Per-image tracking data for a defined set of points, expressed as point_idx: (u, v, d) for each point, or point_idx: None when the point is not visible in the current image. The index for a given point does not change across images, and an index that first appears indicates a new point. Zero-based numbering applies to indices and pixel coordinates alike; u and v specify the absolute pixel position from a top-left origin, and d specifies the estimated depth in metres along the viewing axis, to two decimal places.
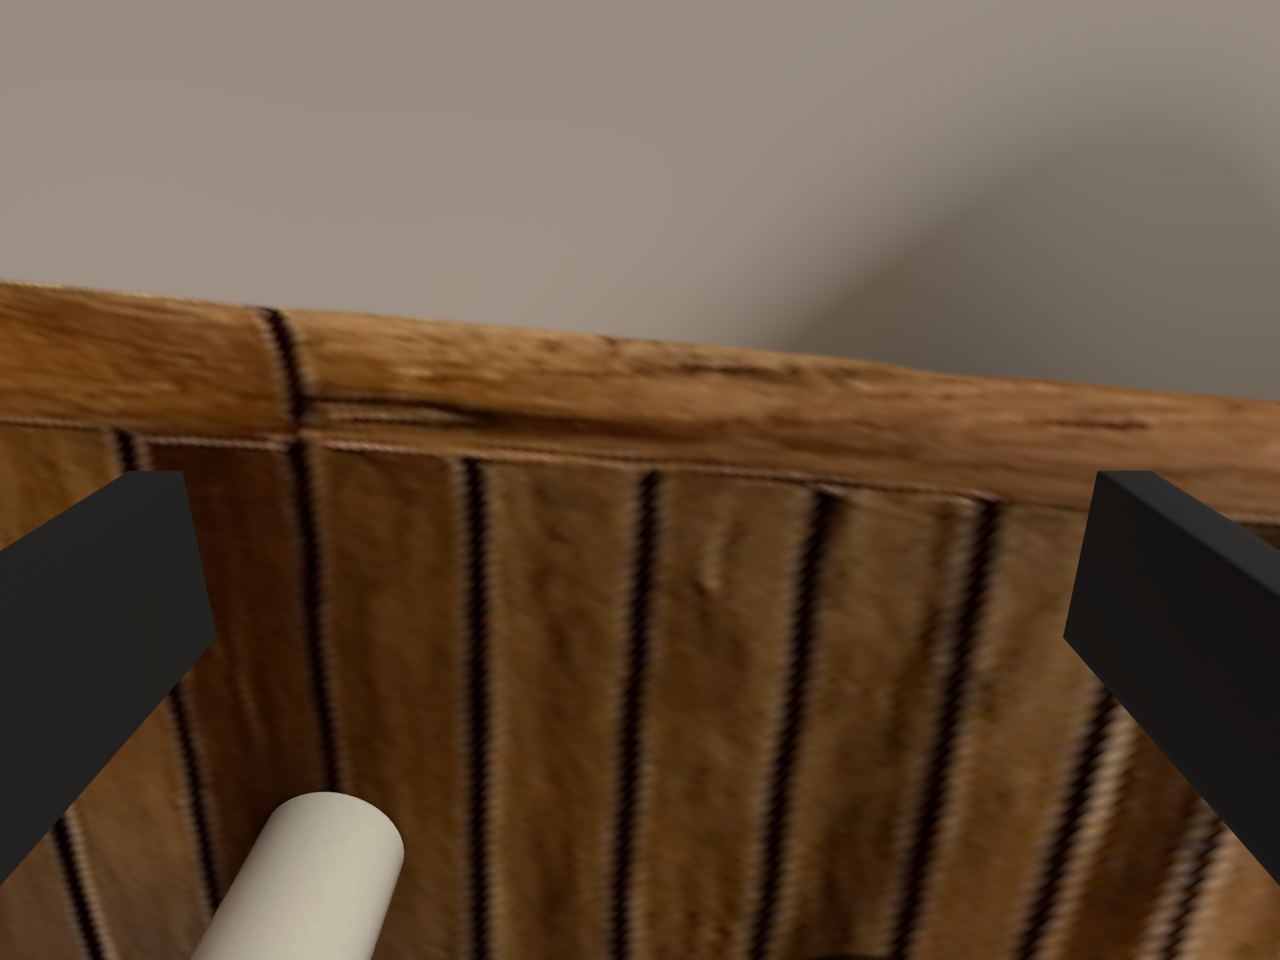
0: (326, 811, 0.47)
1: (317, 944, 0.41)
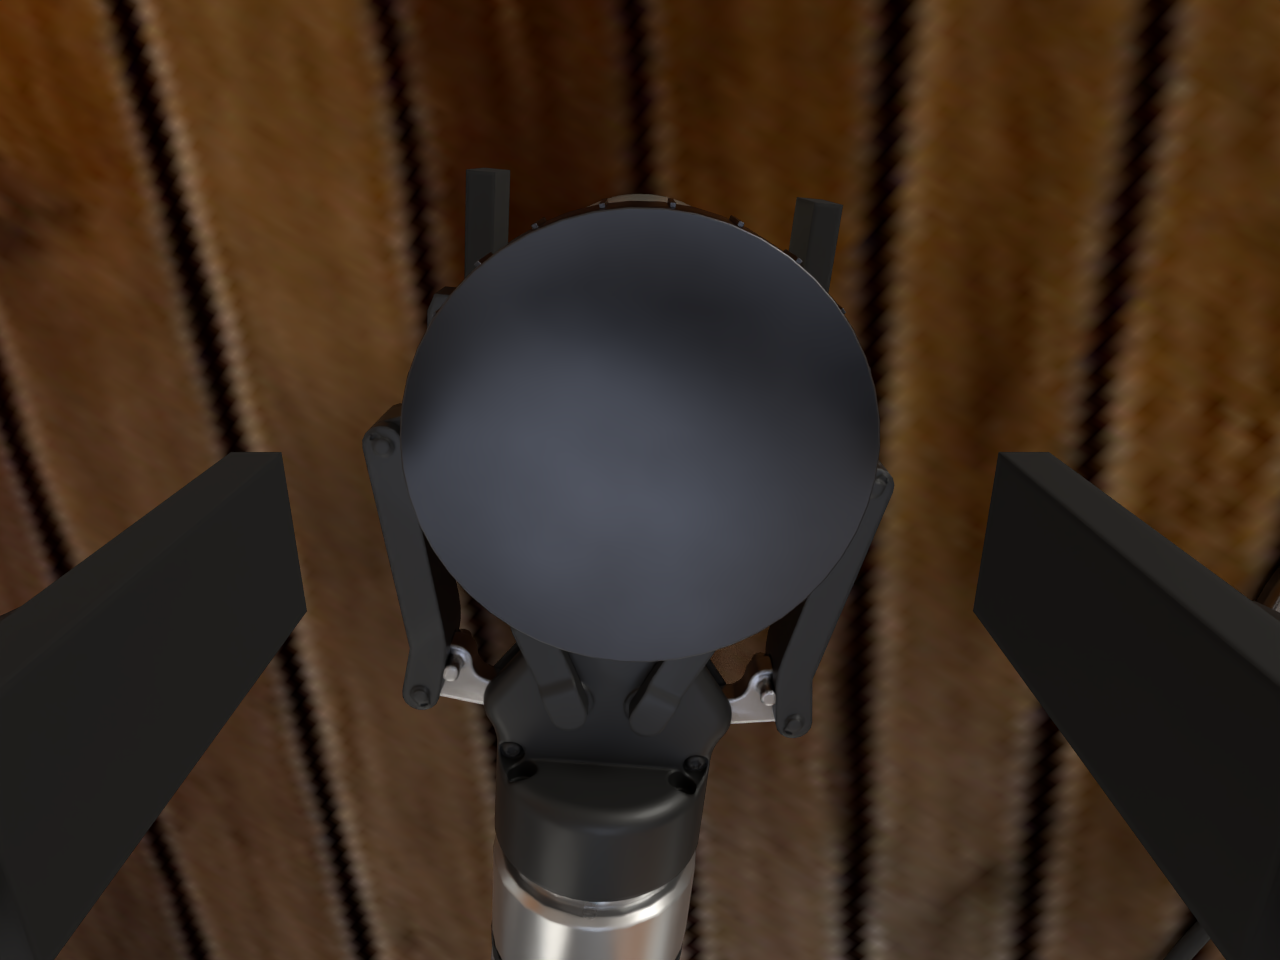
0: (647, 196, 0.28)
1: None
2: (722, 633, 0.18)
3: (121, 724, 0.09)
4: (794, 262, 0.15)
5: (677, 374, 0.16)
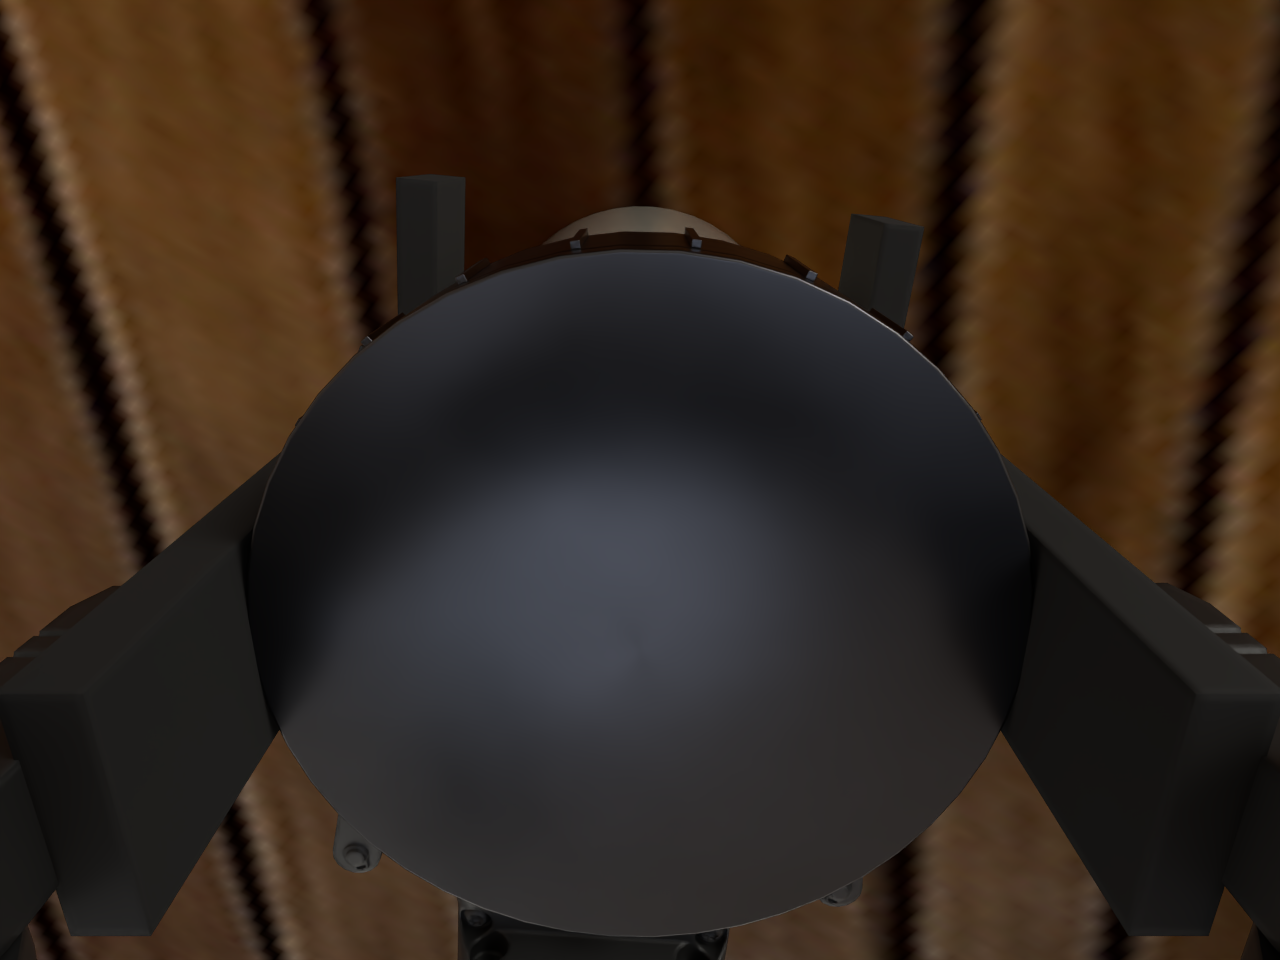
0: (650, 209, 0.22)
1: None
2: (768, 899, 0.12)
3: (213, 699, 0.09)
4: (905, 342, 0.09)
5: (702, 522, 0.10)
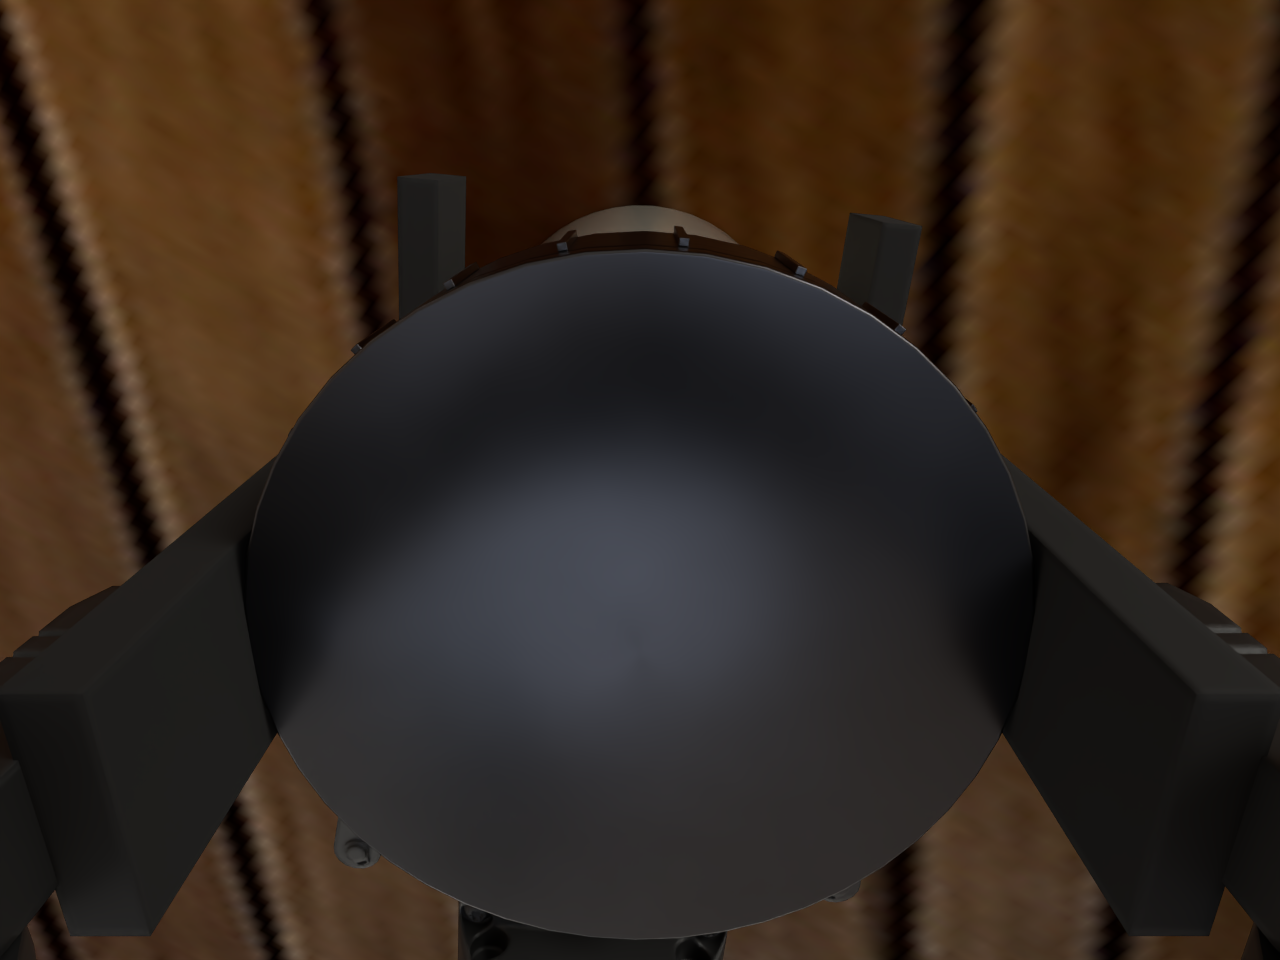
0: (649, 209, 0.22)
1: None
2: (999, 662, 0.10)
3: (213, 699, 0.09)
4: (430, 304, 0.09)
5: (533, 549, 0.10)
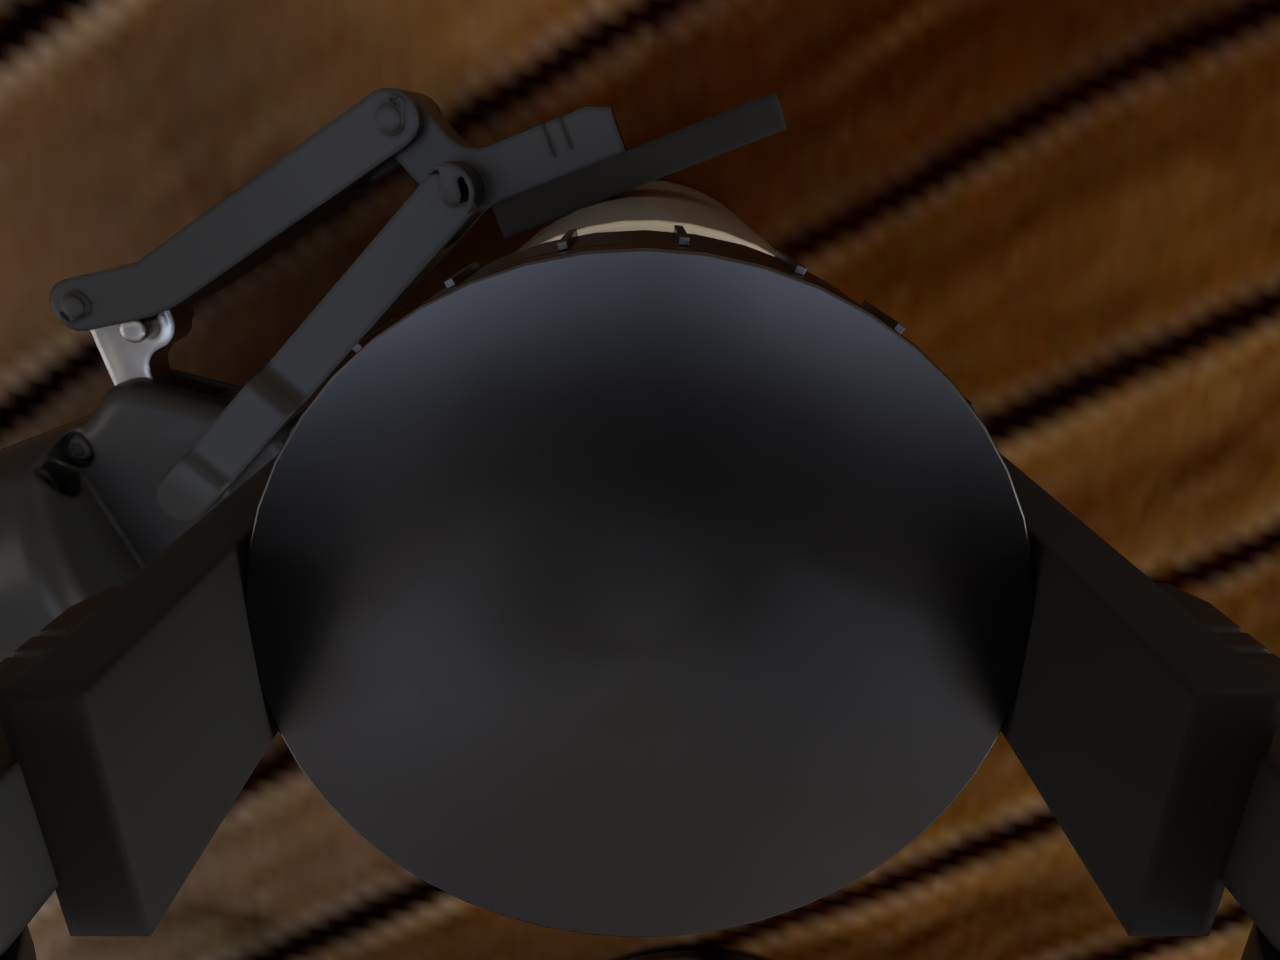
0: None
1: None
2: (998, 660, 0.10)
3: (213, 699, 0.09)
4: (431, 302, 0.09)
5: (534, 547, 0.10)
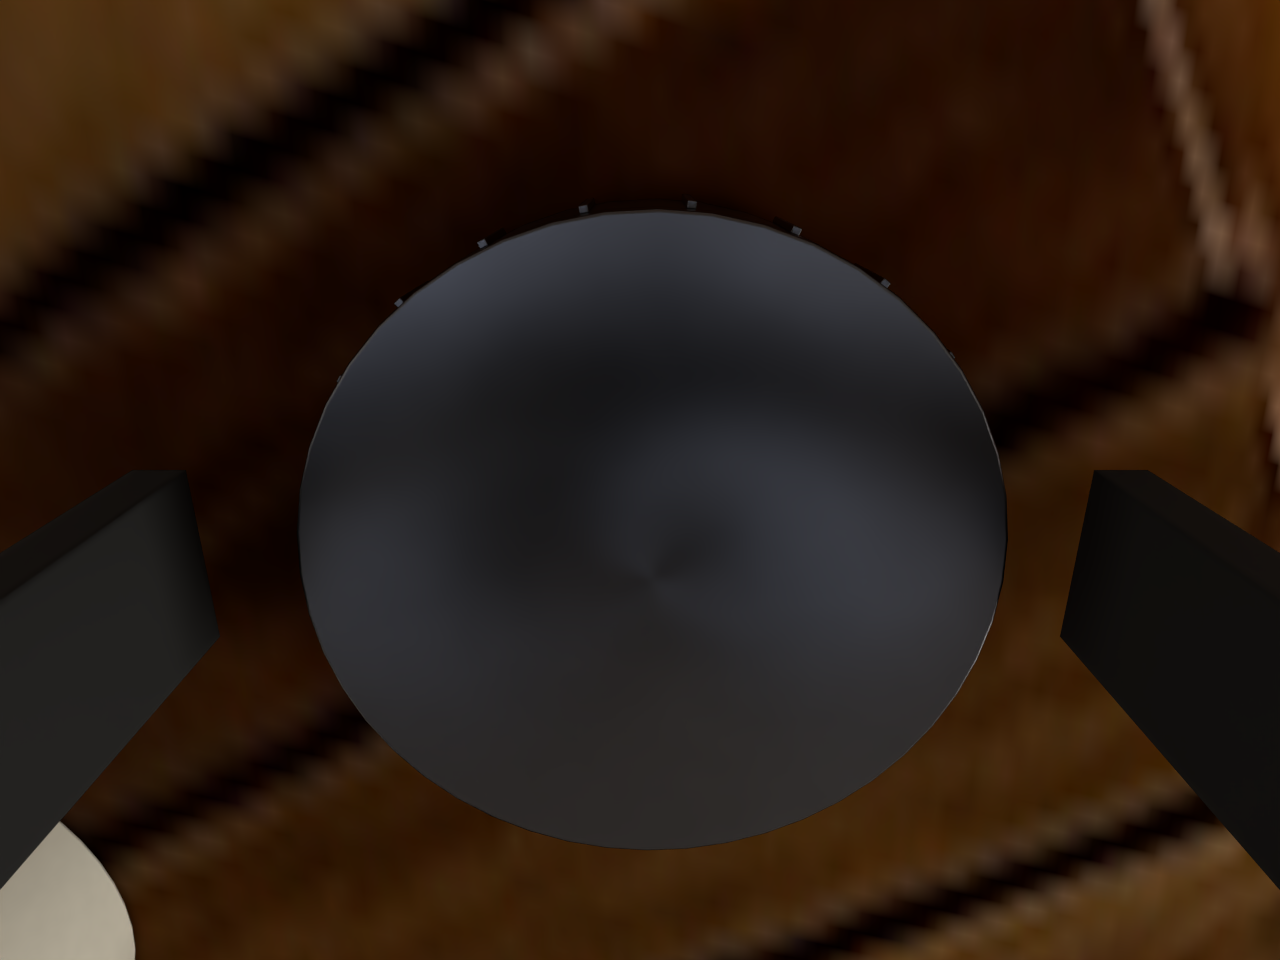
0: (39, 929, 0.14)
1: None
2: (976, 586, 0.11)
3: None
4: (467, 259, 0.10)
5: (558, 483, 0.11)
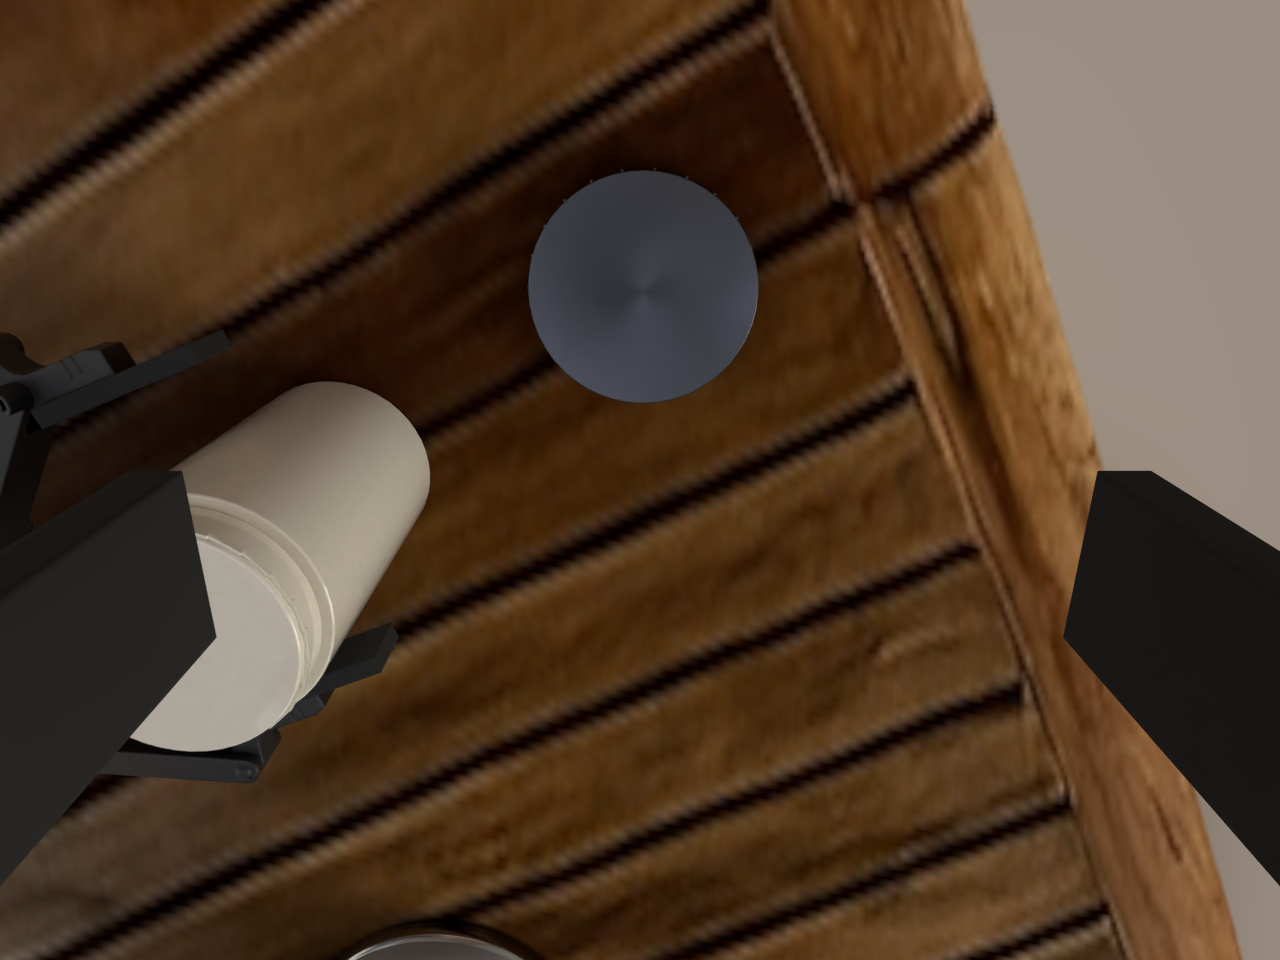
0: (411, 448, 0.37)
1: (371, 577, 0.31)
2: (749, 295, 0.34)
3: None
4: (588, 185, 0.33)
5: (613, 258, 0.34)
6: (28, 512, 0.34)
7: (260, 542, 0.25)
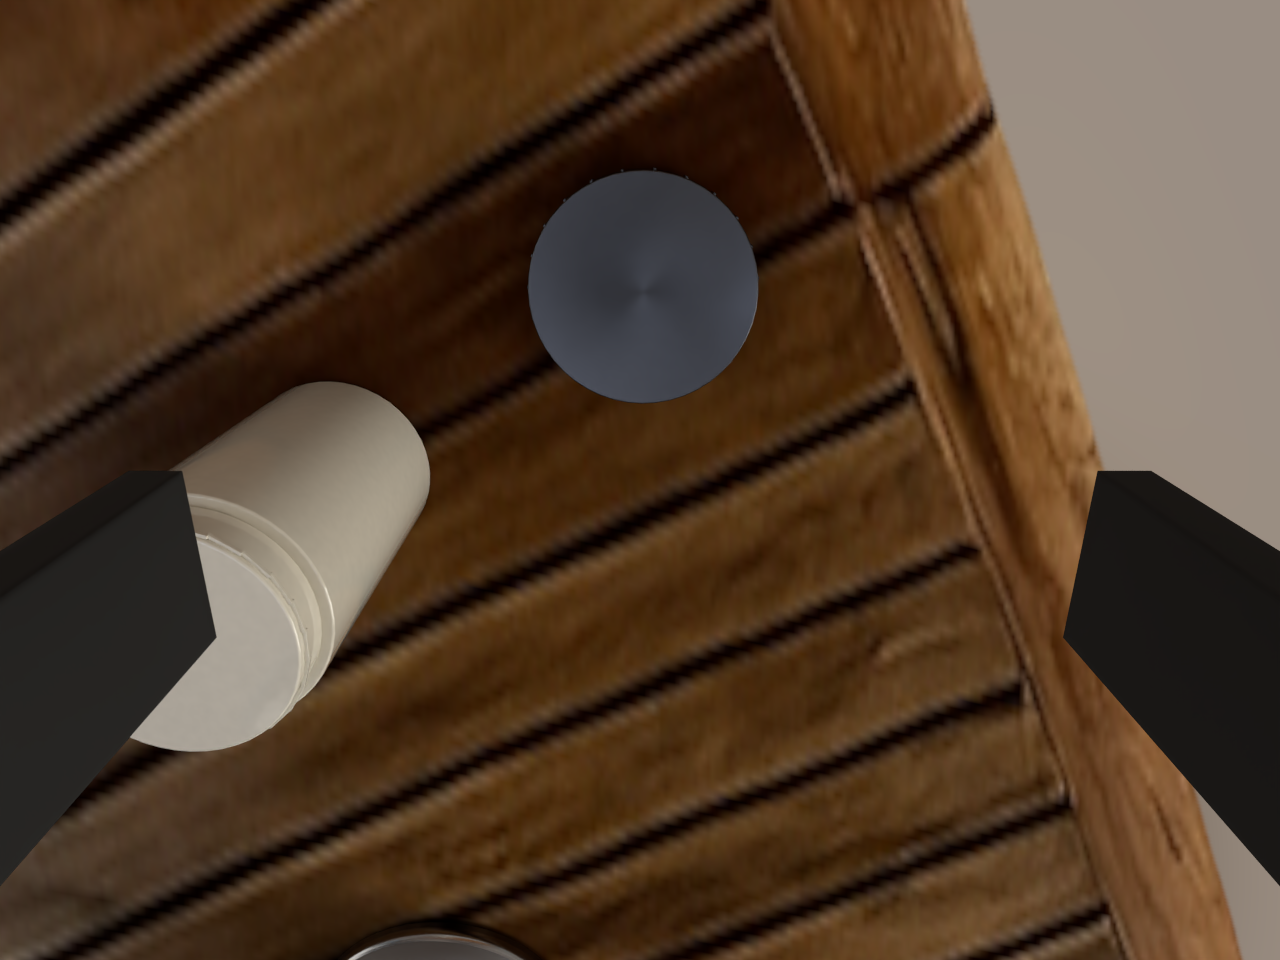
0: (411, 448, 0.37)
1: (371, 577, 0.31)
2: (749, 295, 0.34)
3: None
4: (588, 185, 0.33)
5: (613, 258, 0.34)
6: None
7: (260, 542, 0.25)
